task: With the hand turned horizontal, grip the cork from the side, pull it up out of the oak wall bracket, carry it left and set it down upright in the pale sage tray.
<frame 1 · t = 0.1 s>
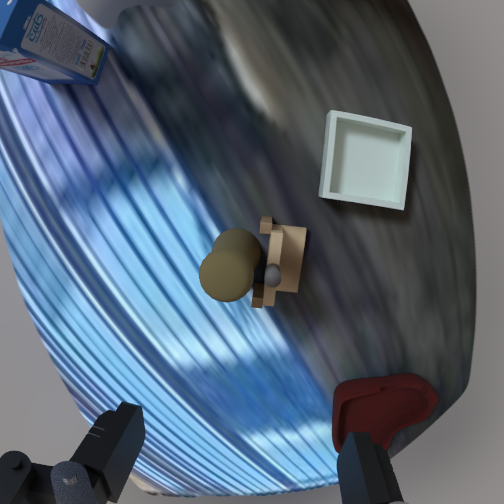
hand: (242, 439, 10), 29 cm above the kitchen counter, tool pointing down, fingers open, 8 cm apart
tray: (362, 161, 35), on the kitchen counter
bracket: (280, 267, 34), on the kitchen counter
milk carton: (78, 65, 34), on the kitchen counter
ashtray: (369, 401, 44), on the kitchen counter
cork: (236, 252, 39), on the kitchen counter
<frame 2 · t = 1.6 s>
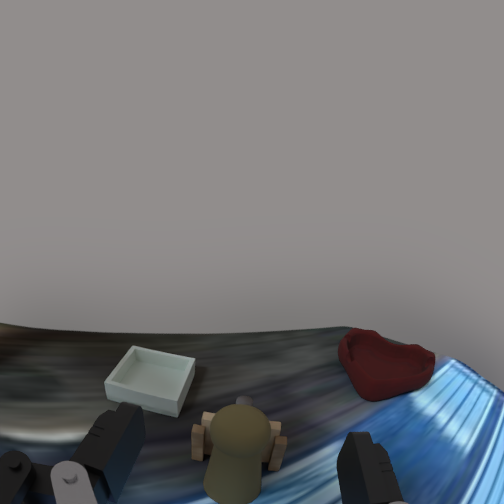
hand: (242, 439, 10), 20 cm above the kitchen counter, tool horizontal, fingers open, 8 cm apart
tray: (152, 386, 40), on the kitchen counter
bracket: (241, 425, 30), on the kitchen counter
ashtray: (377, 380, 47), on the kitchen counter
cork: (232, 485, 26), on the kitchen counter
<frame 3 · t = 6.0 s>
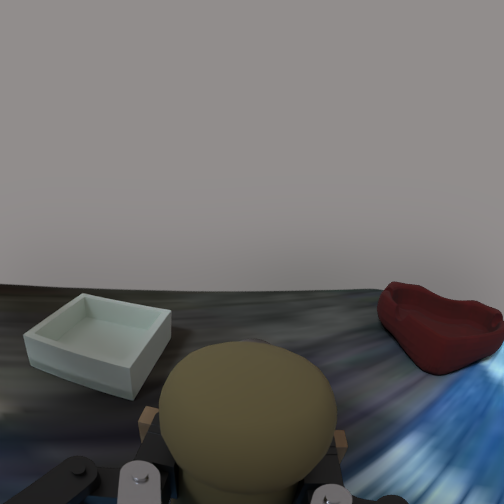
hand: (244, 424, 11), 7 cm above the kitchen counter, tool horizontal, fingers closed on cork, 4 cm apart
tray: (103, 352, 25), on the kitchen counter
bracket: (246, 411, 15), on the kitchen counter
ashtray: (434, 349, 32), on the kitchen counter
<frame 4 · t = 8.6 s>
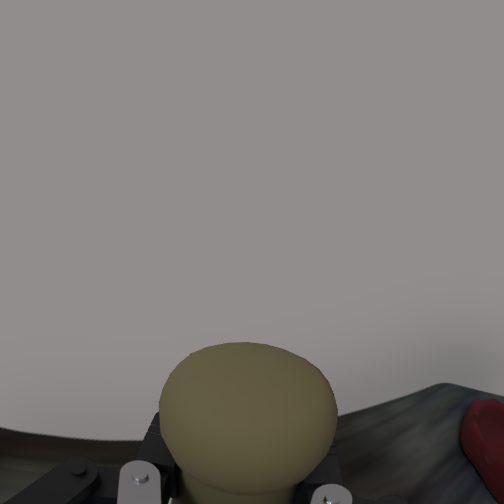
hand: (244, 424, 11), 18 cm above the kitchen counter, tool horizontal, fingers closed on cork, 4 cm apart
when the fingers open (9 cm above the kitchen counter, at t = 11.0 s): cork moves 1 cm, resting on tray.
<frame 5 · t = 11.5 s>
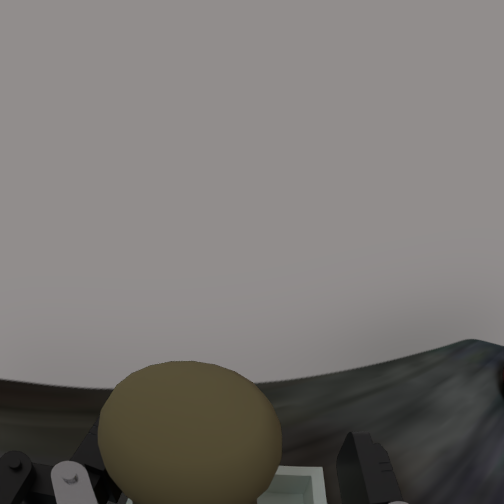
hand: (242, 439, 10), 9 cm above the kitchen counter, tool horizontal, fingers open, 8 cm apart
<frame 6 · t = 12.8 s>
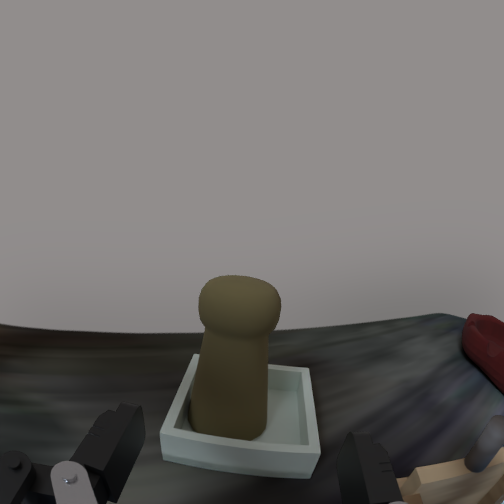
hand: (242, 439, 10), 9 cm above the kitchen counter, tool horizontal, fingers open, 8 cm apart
tray: (242, 425, 22), on the kitchen counter
bracket: (457, 469, 12), on the kitchen counter
cork: (227, 419, 21), point 1 cm above the kitchen counter, touching tray
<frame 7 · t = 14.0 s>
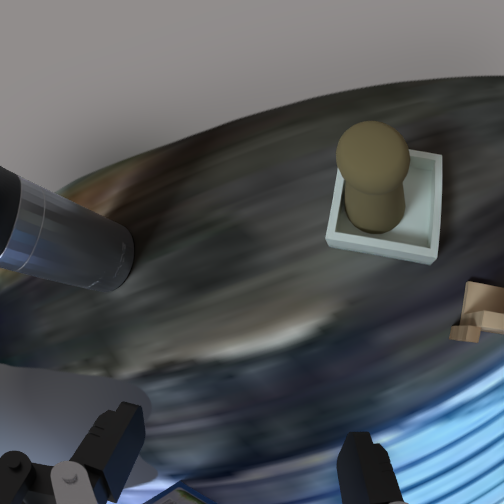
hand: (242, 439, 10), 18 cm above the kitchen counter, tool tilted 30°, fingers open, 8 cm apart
tray: (387, 206, 28), on the kitchen counter
cork: (375, 204, 28), point 1 cm above the kitchen counter, touching tray
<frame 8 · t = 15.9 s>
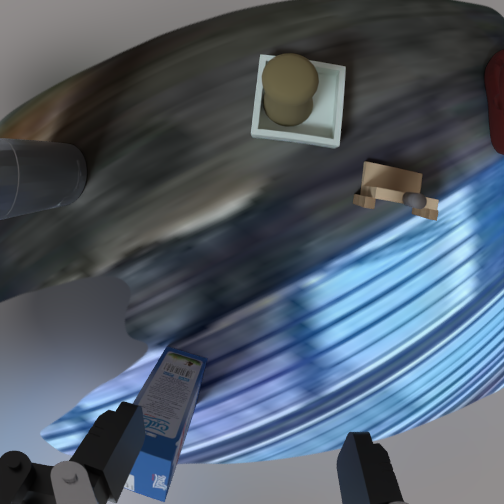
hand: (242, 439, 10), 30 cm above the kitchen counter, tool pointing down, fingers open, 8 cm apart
tray: (297, 103, 35), on the kitchen counter
bracket: (404, 190, 32), on the kitchen counter
milk carton: (182, 376, 45), on the kitchen counter
cork: (287, 103, 34), point 1 cm above the kitchen counter, touching tray
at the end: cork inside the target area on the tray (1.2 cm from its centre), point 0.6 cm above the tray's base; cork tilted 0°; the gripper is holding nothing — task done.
